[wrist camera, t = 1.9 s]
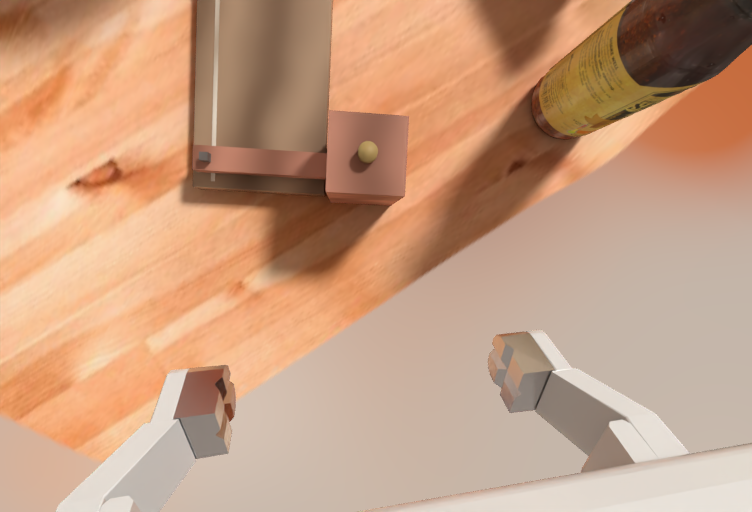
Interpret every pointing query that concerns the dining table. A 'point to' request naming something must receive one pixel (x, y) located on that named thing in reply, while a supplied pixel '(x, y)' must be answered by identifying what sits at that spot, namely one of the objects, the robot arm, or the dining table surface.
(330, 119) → the latch lever with knob
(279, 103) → the plank
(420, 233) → the dining table surface
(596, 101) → the sauce bottle
